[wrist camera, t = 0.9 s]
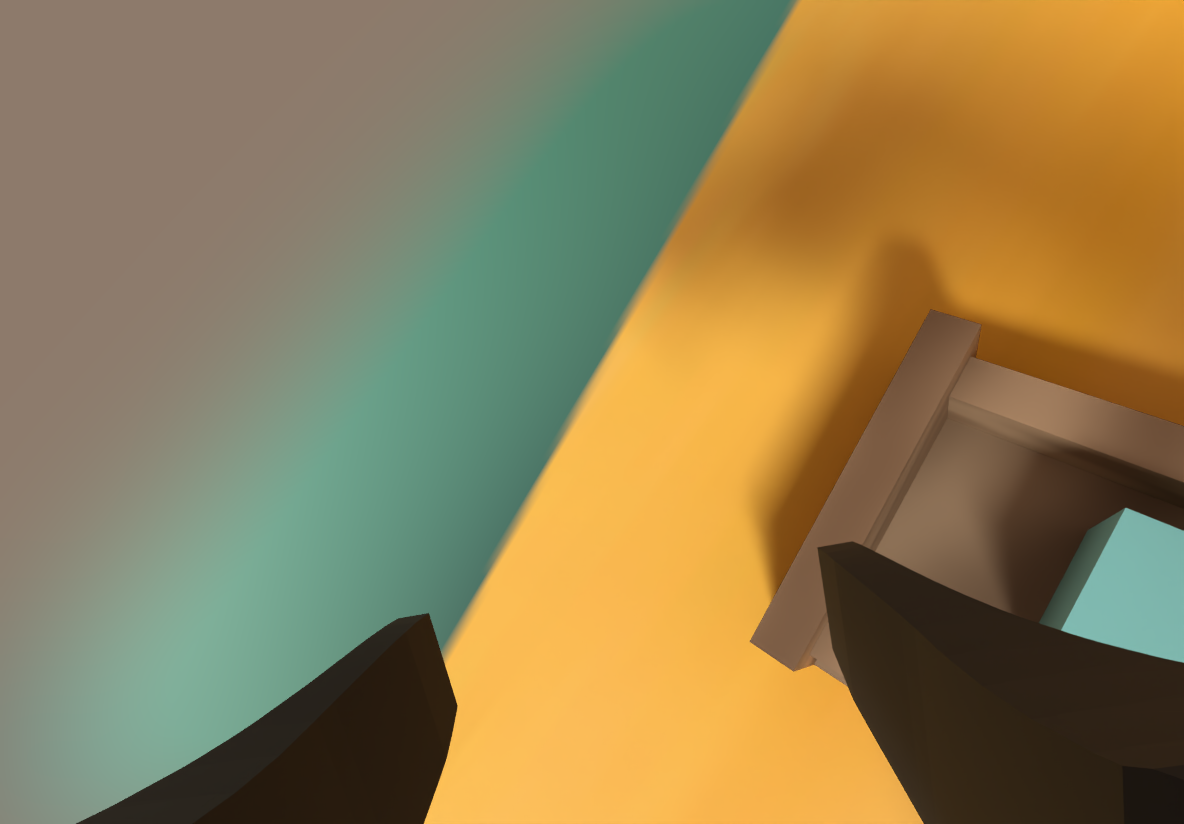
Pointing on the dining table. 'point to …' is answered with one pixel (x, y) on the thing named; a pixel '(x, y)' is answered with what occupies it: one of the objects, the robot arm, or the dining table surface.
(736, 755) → the dining table surface
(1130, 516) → the teal block
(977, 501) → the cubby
